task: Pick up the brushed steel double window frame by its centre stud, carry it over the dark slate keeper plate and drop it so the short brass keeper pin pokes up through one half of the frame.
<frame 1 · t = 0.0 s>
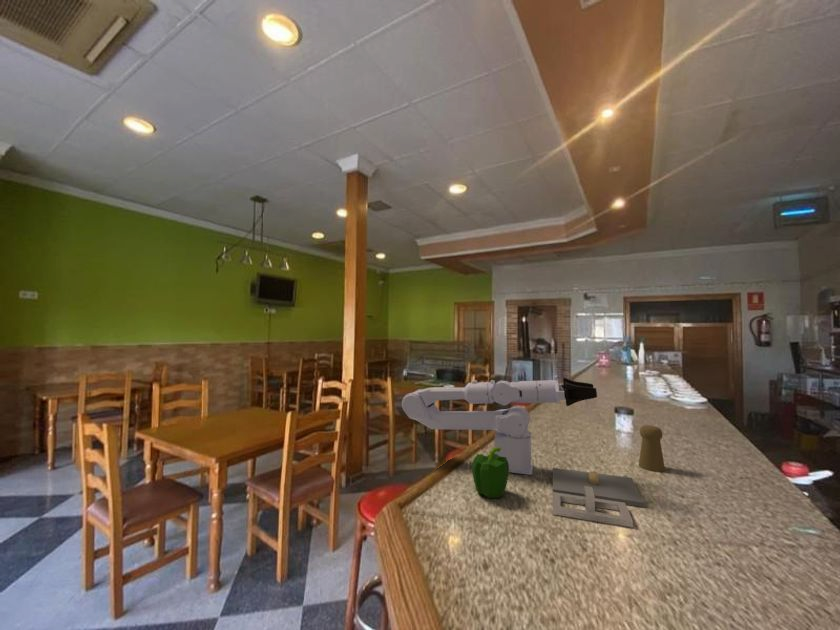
hand: (594, 390, 92), 22 cm above the counter, tool horizontal, fingers open, 7 cm apart
cork: (651, 468, 99), on the counter
keeper plate: (593, 487, 86), on the counter
bell pepper: (490, 494, 82), on the counter
double window frame: (589, 511, 75), on the counter
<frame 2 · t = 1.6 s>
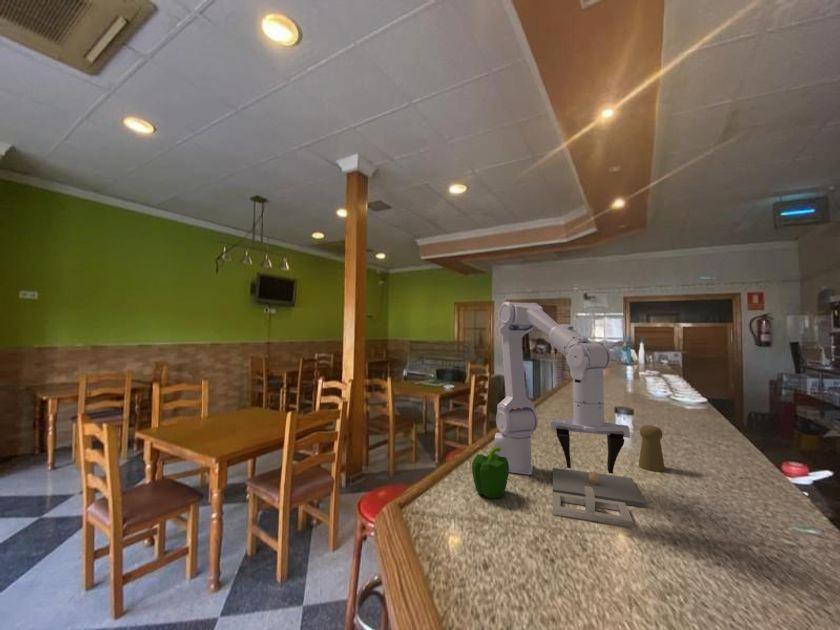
hand: (589, 469, 75), 8 cm above the counter, tool pointing down, fingers open, 7 cm apart
nothing on the counter moved.
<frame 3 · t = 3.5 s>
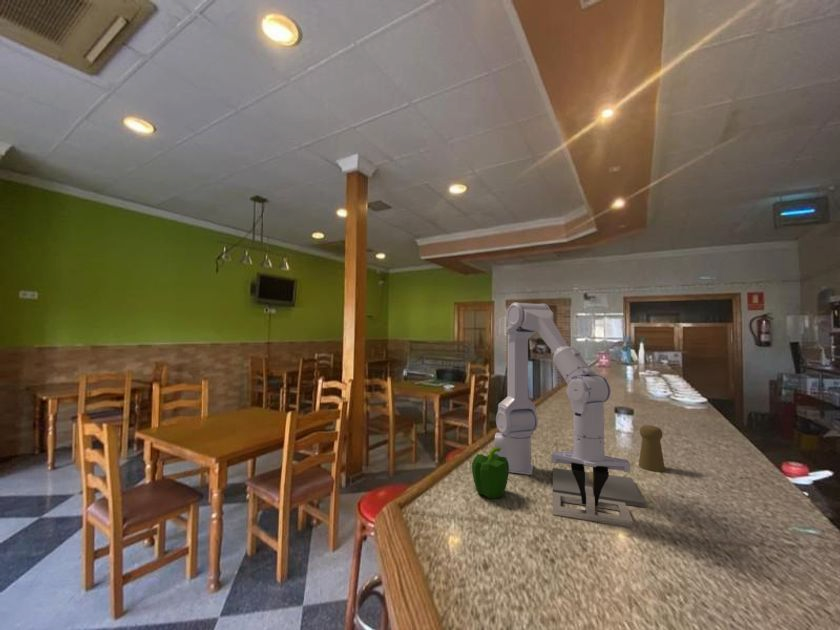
hand: (589, 502, 75), 2 cm above the counter, tool pointing down, fingers closed on double window frame
double window frame: (589, 511, 75), on the counter, touching gripper
everything else where it was.
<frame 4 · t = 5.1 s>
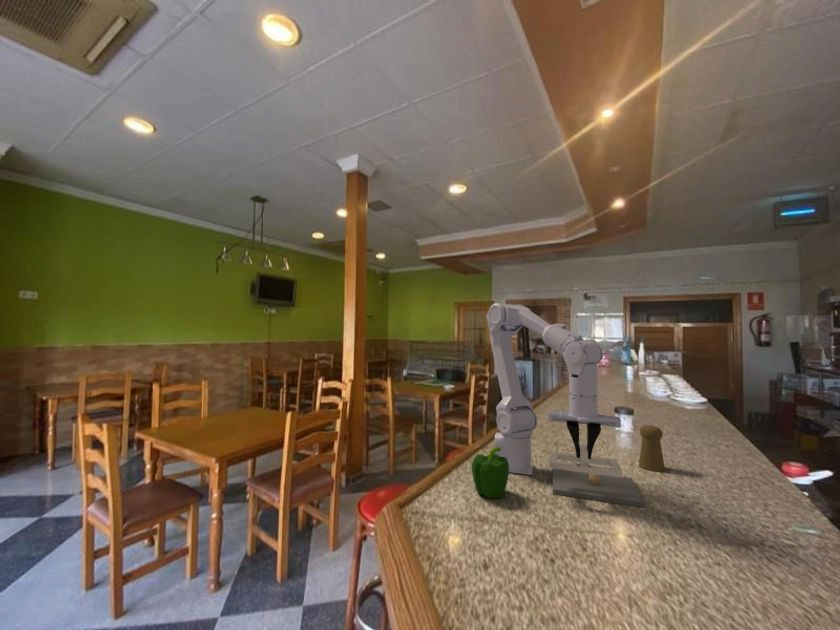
hand: (583, 457, 81), 9 cm above the counter, tool pointing down, fingers closed on double window frame
double window frame: (583, 466, 81), point 7 cm above the counter, touching gripper
everything else where it was.
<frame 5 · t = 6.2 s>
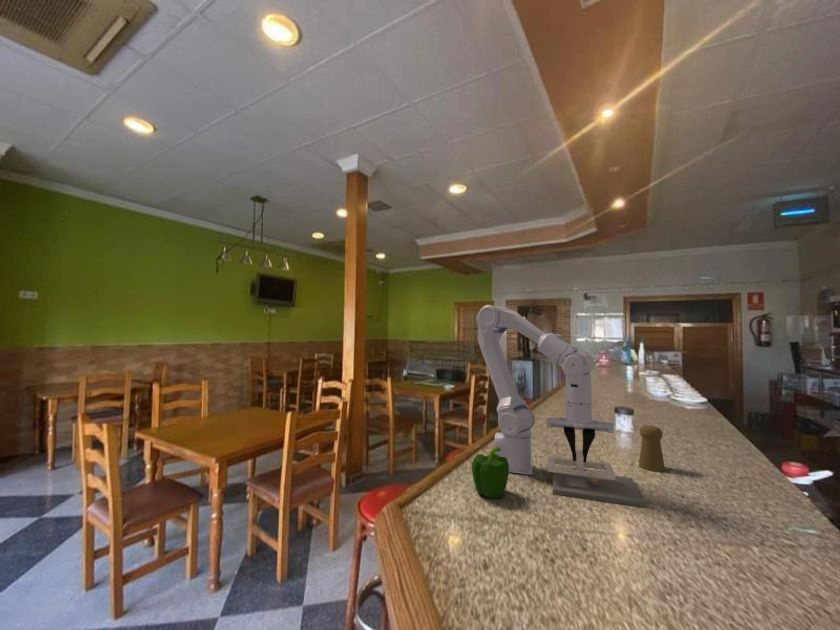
hand: (579, 460, 87), 6 cm above the counter, tool pointing down, fingers closed on double window frame
double window frame: (579, 469, 87), point 4 cm above the counter, touching gripper
everything else where it was.
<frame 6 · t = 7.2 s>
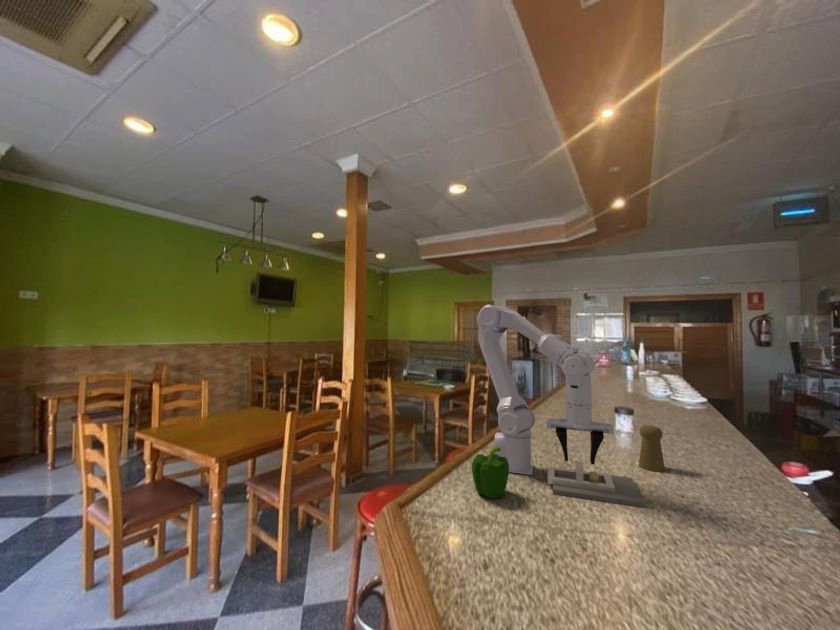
hand: (579, 461, 87), 6 cm above the counter, tool pointing down, fingers open, 5 cm apart
double window frame: (579, 481, 87), point 1 cm above the counter, touching keeper plate
everything else where it was.
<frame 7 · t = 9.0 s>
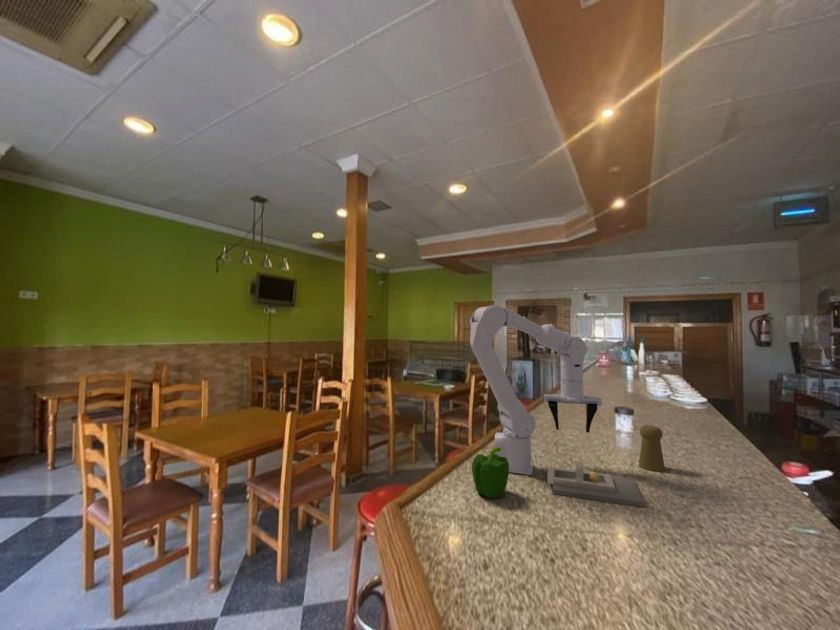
hand: (572, 430, 101), 9 cm above the counter, tool pointing down, fingers open, 7 cm apart
nothing on the counter moved.
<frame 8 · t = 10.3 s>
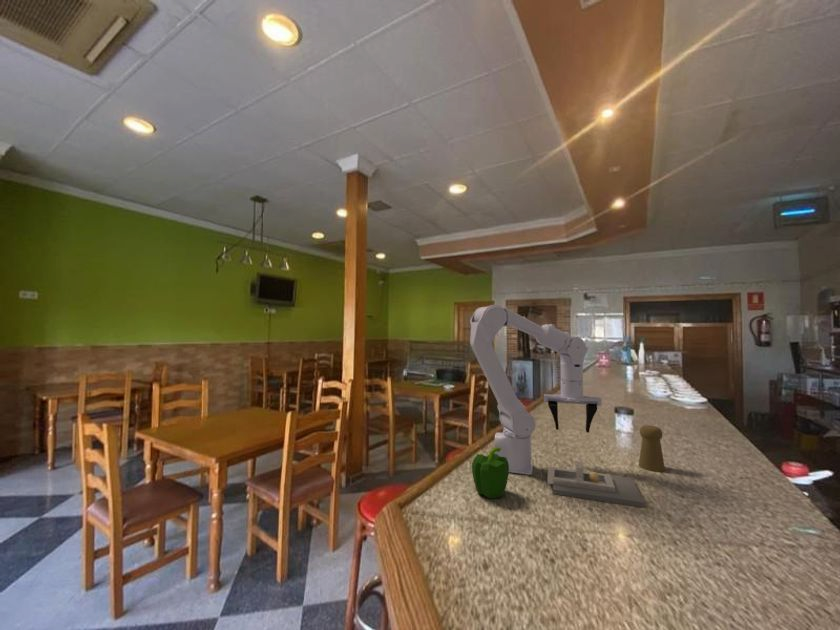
hand: (572, 430, 101), 9 cm above the counter, tool pointing down, fingers open, 7 cm apart
nothing on the counter moved.
at the end: double window frame 0.2 cm from the target spot on the keeper plate, point 1.0 cm above the keeper plate's base; double window frame tilted 0°; the gripper is holding nothing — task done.
